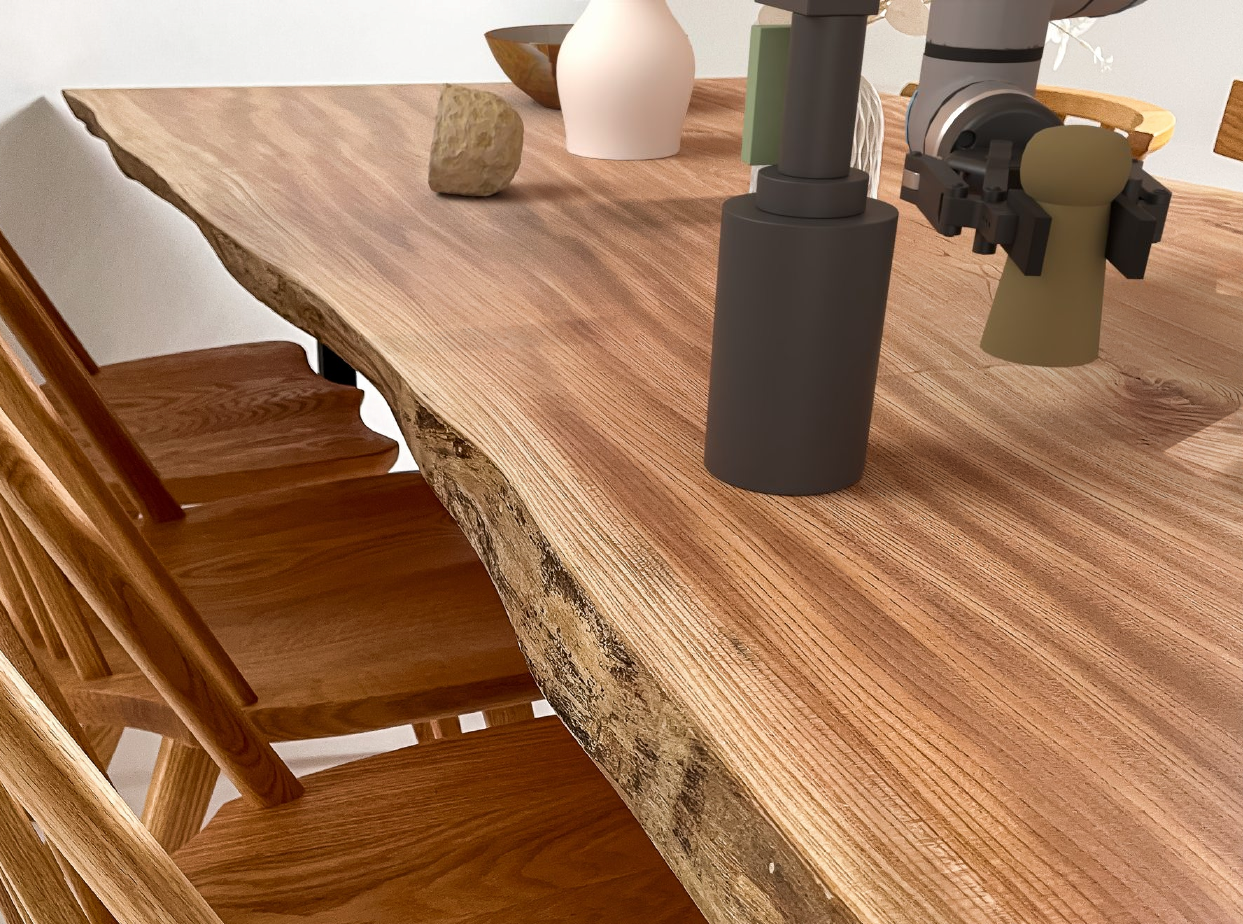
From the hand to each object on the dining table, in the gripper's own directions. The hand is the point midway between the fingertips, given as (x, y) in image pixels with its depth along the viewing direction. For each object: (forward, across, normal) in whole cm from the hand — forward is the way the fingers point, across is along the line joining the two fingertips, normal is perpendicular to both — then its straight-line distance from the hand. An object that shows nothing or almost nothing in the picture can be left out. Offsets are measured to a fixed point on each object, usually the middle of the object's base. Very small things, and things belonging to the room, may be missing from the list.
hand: (1089, 248), depth 66 cm
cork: (-5, 0, -7) cm, 9 cm away
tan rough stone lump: (-63, +38, -11) cm, 74 cm away
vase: (-88, +25, -11) cm, 92 cm away
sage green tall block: (-3, +15, +3) cm, 16 cm away
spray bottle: (+1, +14, -11) cm, 17 cm away
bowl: (-120, +31, -11) cm, 125 cm away
